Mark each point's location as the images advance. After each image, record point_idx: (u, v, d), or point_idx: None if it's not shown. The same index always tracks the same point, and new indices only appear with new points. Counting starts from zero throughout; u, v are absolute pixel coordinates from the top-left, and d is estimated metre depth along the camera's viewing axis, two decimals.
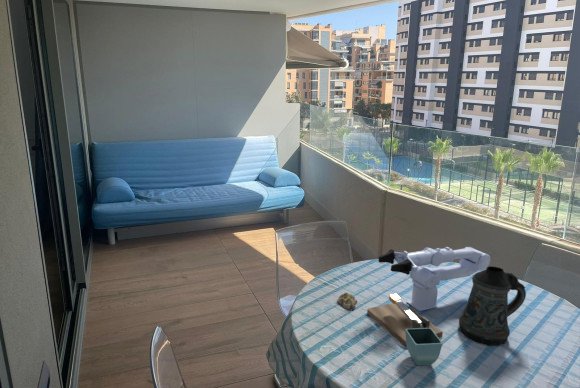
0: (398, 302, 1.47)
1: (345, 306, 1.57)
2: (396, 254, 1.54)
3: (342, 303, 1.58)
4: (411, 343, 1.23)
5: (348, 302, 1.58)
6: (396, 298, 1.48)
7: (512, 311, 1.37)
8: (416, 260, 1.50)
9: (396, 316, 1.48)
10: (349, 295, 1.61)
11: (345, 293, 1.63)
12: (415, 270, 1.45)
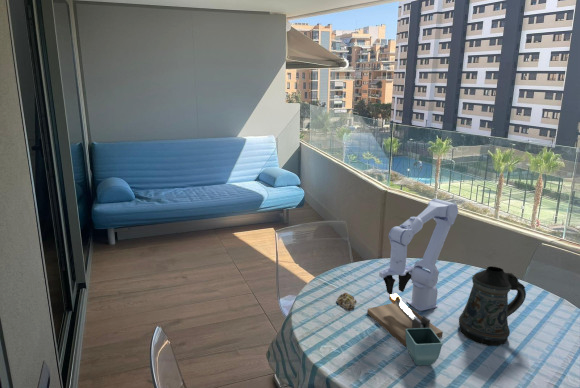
0: (398, 302, 1.47)
1: (344, 306, 1.57)
2: None
3: (341, 303, 1.58)
4: (411, 343, 1.23)
5: (347, 302, 1.58)
6: (396, 298, 1.48)
7: (512, 311, 1.37)
8: None
9: (396, 316, 1.48)
10: (348, 295, 1.61)
11: (344, 293, 1.63)
12: None
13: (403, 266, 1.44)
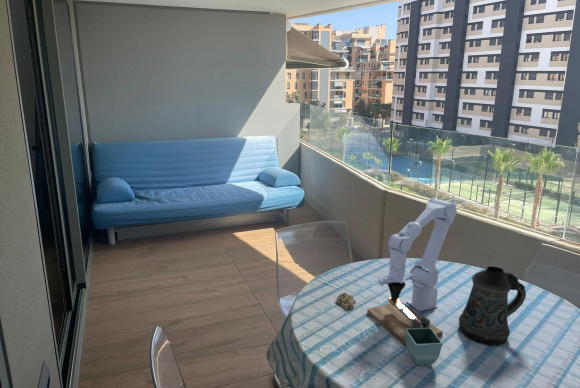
0: (397, 304, 1.47)
1: (343, 306, 1.57)
2: None
3: (340, 303, 1.58)
4: (411, 343, 1.23)
5: (346, 302, 1.58)
6: (395, 300, 1.49)
7: (512, 311, 1.37)
8: None
9: (396, 316, 1.48)
10: (347, 295, 1.61)
11: (343, 293, 1.63)
12: None
13: (402, 274, 1.44)
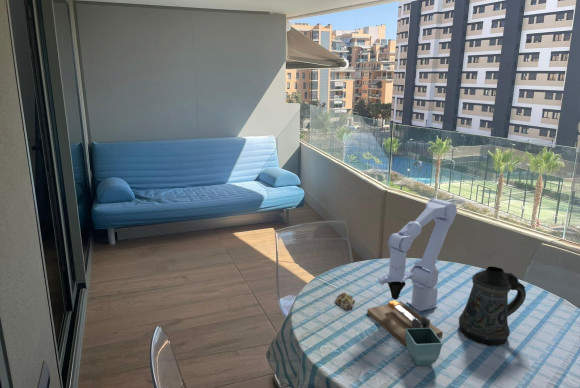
0: (397, 307, 1.47)
1: (342, 306, 1.57)
2: None
3: (340, 303, 1.58)
4: (411, 343, 1.23)
5: (346, 302, 1.58)
6: (395, 303, 1.49)
7: (512, 311, 1.37)
8: None
9: (396, 316, 1.48)
10: (347, 295, 1.61)
11: (343, 293, 1.63)
12: None
13: (402, 273, 1.44)
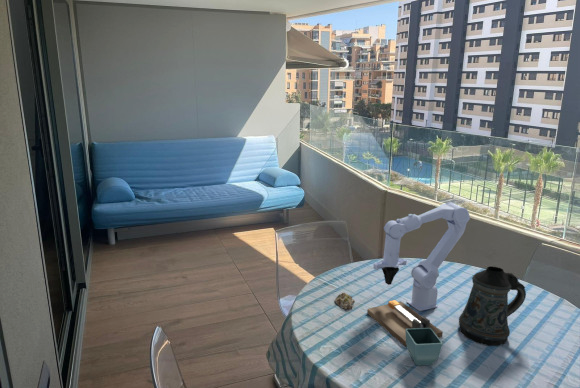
0: (397, 307, 1.47)
1: (342, 306, 1.57)
2: None
3: (339, 303, 1.58)
4: (411, 343, 1.23)
5: (345, 302, 1.58)
6: (395, 303, 1.49)
7: (512, 311, 1.37)
8: None
9: (396, 316, 1.48)
10: (346, 295, 1.61)
11: (342, 293, 1.63)
12: None
13: (396, 258, 1.51)
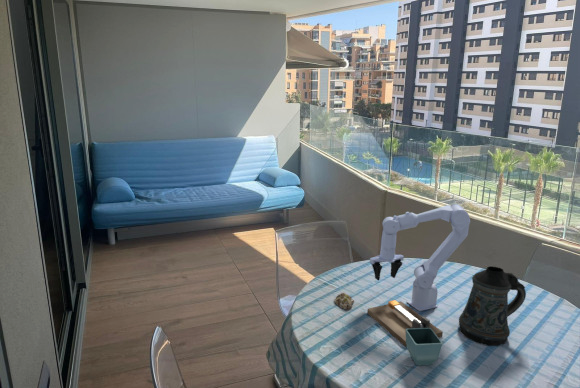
0: (397, 307, 1.47)
1: (342, 306, 1.57)
2: None
3: (339, 303, 1.58)
4: (411, 343, 1.23)
5: (345, 302, 1.58)
6: (395, 303, 1.49)
7: (512, 311, 1.37)
8: None
9: (396, 316, 1.48)
10: (346, 295, 1.61)
11: (342, 293, 1.63)
12: None
13: (392, 254, 1.55)
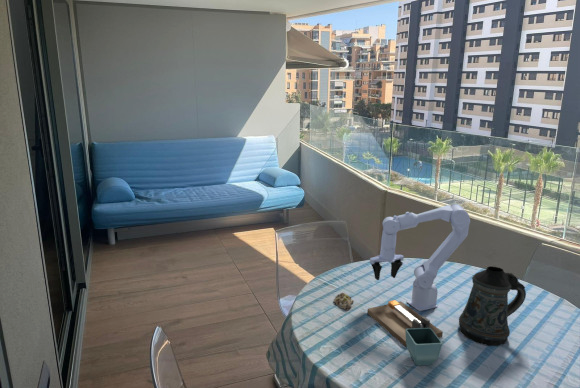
0: (397, 307, 1.47)
1: (341, 306, 1.57)
2: None
3: (338, 303, 1.58)
4: (411, 343, 1.23)
5: (344, 302, 1.58)
6: (395, 303, 1.49)
7: (512, 311, 1.37)
8: None
9: (396, 316, 1.48)
10: (345, 295, 1.61)
11: (341, 293, 1.63)
12: None
13: (392, 254, 1.55)
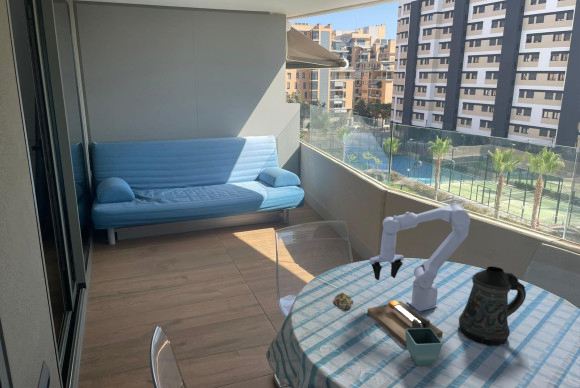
0: (397, 307, 1.47)
1: (341, 306, 1.57)
2: None
3: (338, 303, 1.58)
4: (411, 343, 1.23)
5: (344, 302, 1.58)
6: (395, 303, 1.49)
7: (512, 311, 1.37)
8: None
9: (396, 316, 1.48)
10: (345, 295, 1.61)
11: (341, 293, 1.63)
12: None
13: (392, 254, 1.55)
